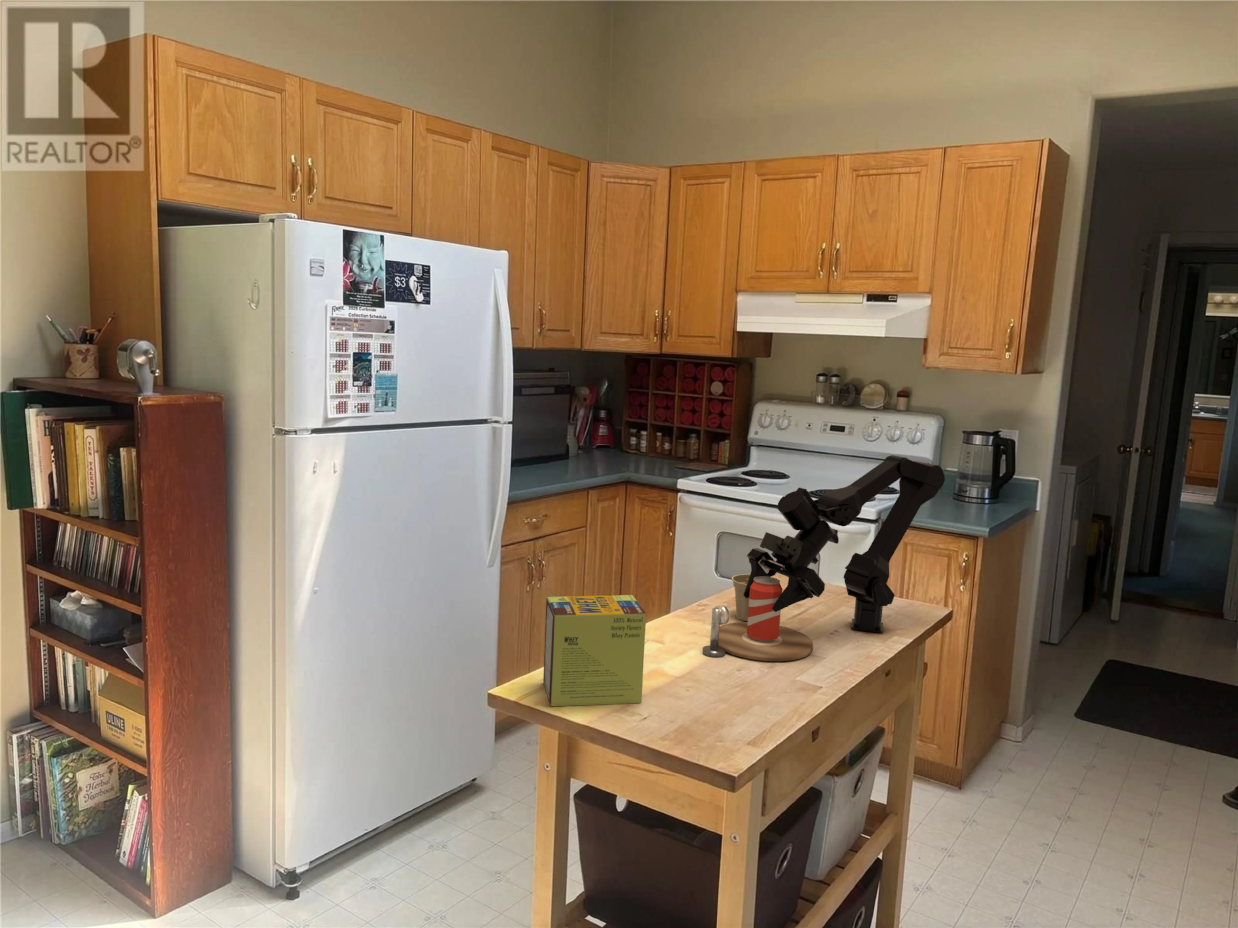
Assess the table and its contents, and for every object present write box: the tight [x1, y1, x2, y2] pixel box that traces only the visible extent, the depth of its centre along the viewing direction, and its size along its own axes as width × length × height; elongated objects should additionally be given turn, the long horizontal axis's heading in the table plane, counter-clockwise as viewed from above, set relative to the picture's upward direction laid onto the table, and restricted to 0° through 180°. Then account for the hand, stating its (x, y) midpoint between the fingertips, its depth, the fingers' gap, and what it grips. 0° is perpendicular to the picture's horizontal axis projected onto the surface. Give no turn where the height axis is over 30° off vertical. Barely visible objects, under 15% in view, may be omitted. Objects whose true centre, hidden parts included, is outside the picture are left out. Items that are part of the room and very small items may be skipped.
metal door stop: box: [701, 605, 730, 658], centre depth 173 cm, size 4×4×9 cm
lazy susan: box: [718, 621, 814, 662], centre depth 180 cm, size 20×20×1 cm
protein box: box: [542, 594, 647, 707], centre depth 151 cm, size 10×15×16 cm
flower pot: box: [731, 573, 751, 622], centre depth 196 cm, size 9×9×9 cm
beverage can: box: [747, 576, 783, 642], centre depth 179 cm, size 6×6×12 cm
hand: (758, 603), depth 178 cm, fingers open, 9 cm apart
